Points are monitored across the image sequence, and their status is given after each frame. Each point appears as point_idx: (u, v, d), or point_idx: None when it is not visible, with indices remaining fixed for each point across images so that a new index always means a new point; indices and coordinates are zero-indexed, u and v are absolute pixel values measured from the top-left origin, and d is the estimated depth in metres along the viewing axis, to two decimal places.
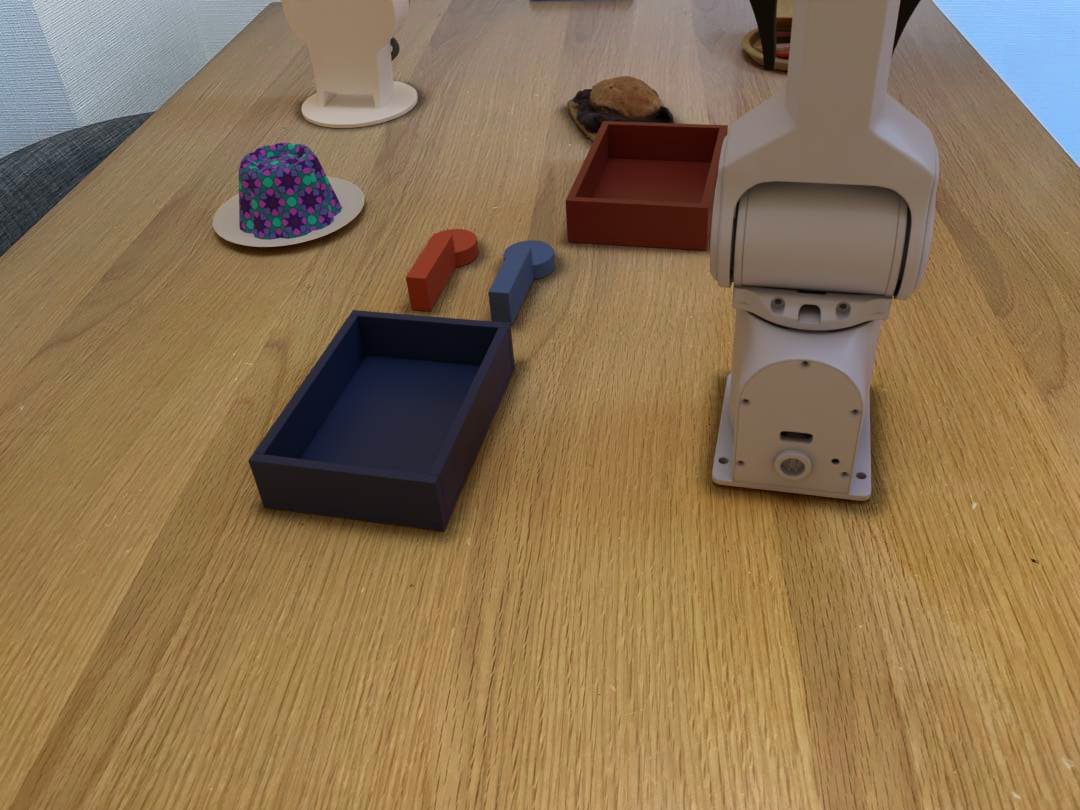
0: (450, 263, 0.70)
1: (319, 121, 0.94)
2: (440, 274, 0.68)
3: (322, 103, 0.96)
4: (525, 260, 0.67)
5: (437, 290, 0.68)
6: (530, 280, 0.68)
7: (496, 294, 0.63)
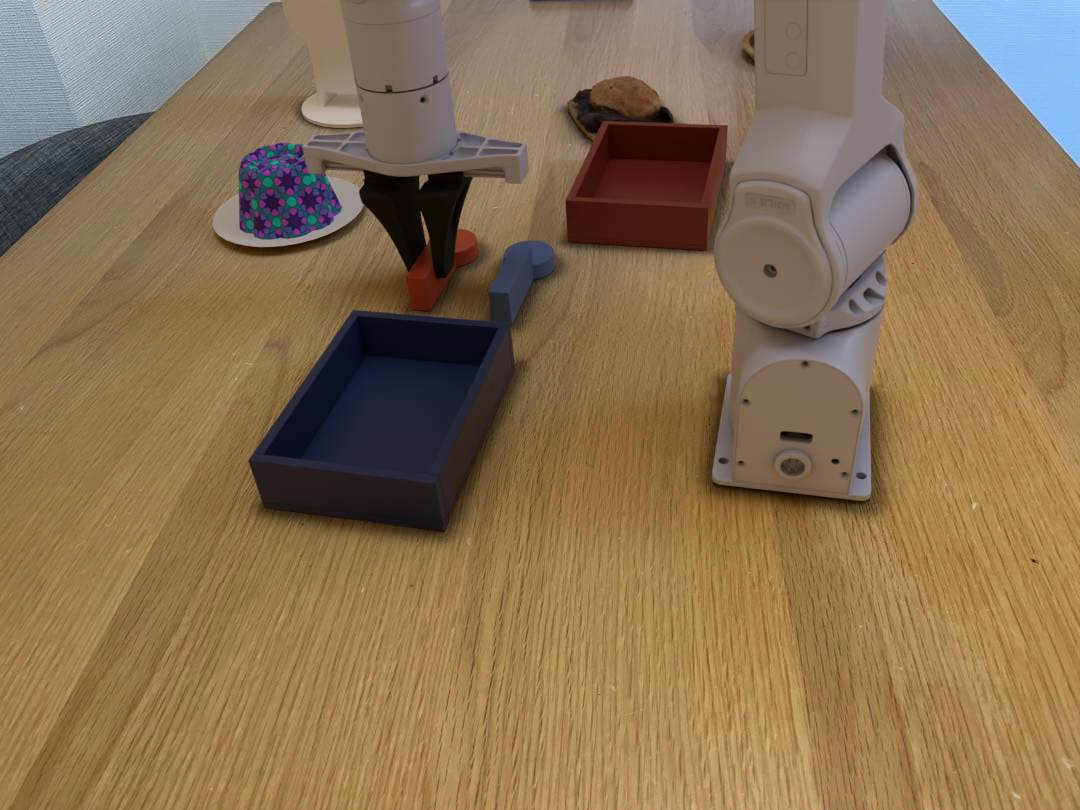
0: None
1: (319, 121, 0.94)
2: None
3: (322, 103, 0.96)
4: (525, 260, 0.67)
5: (437, 290, 0.68)
6: (530, 280, 0.68)
7: (496, 294, 0.63)
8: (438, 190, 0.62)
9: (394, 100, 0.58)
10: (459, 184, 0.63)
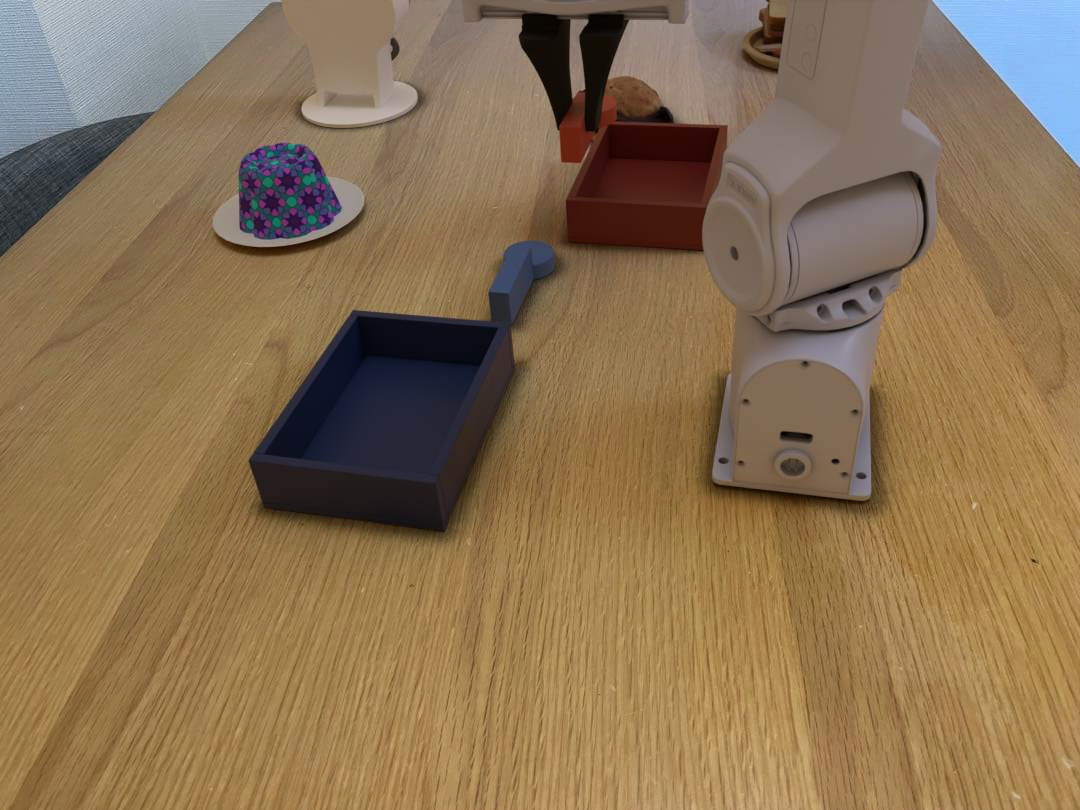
0: None
1: (319, 121, 0.94)
2: None
3: (322, 103, 0.96)
4: (525, 260, 0.67)
5: (585, 145, 0.68)
6: (530, 280, 0.68)
7: (496, 294, 0.63)
8: (601, 31, 0.62)
9: None
10: (620, 26, 0.63)
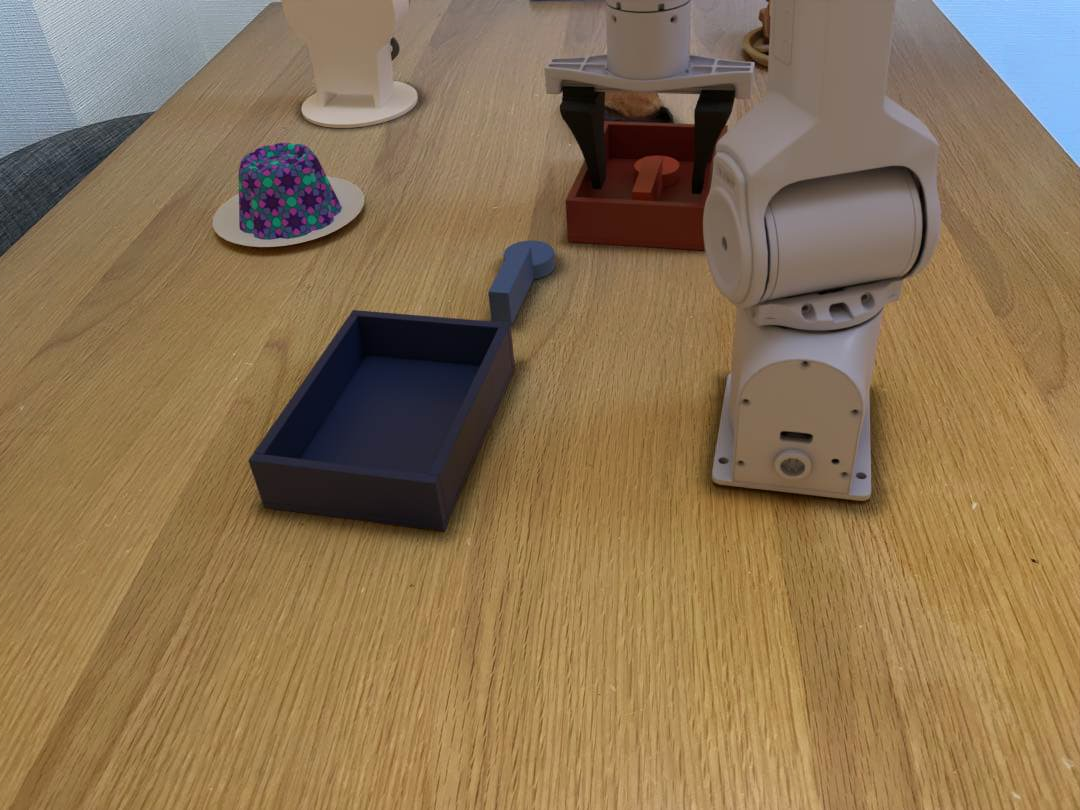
0: (660, 183, 0.77)
1: (319, 121, 0.94)
2: (656, 191, 0.75)
3: (322, 103, 0.96)
4: (525, 260, 0.67)
5: None
6: (530, 280, 0.68)
7: (496, 294, 0.63)
8: (714, 106, 0.68)
9: (649, 19, 0.64)
10: (731, 102, 0.68)
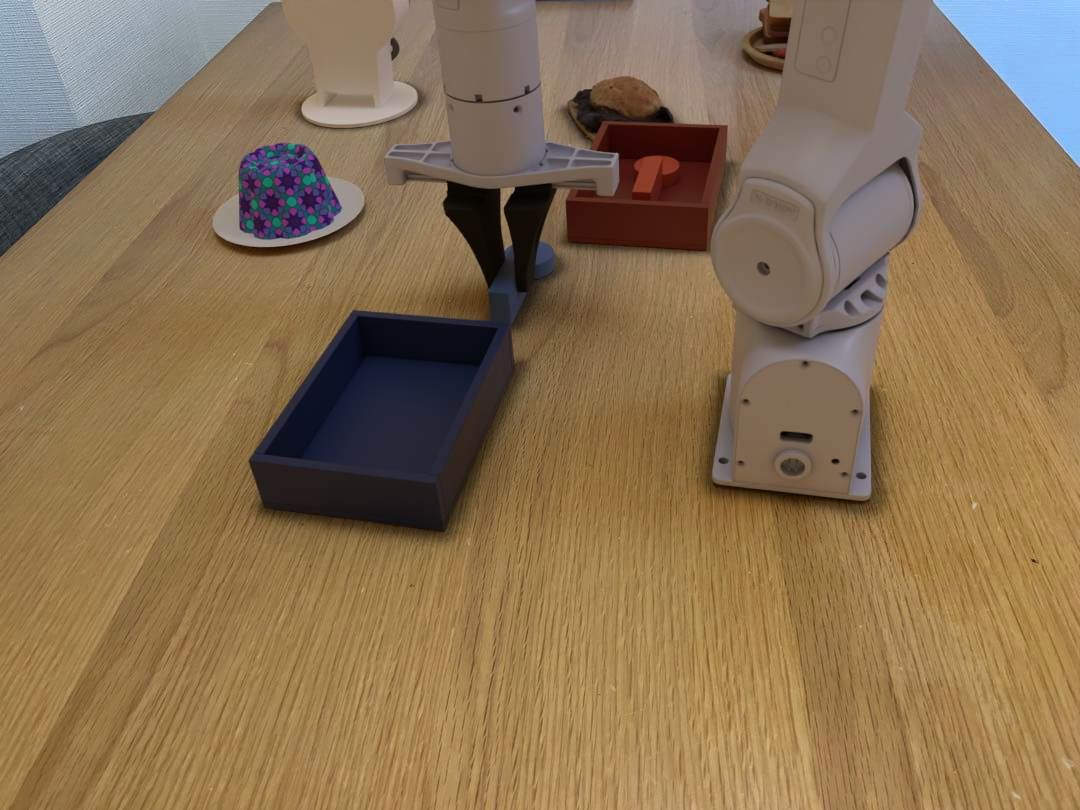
0: (660, 183, 0.77)
1: (319, 121, 0.94)
2: (656, 191, 0.75)
3: (322, 103, 0.96)
4: None
5: None
6: None
7: (496, 294, 0.63)
8: (527, 202, 0.60)
9: (488, 110, 0.56)
10: (548, 196, 0.60)
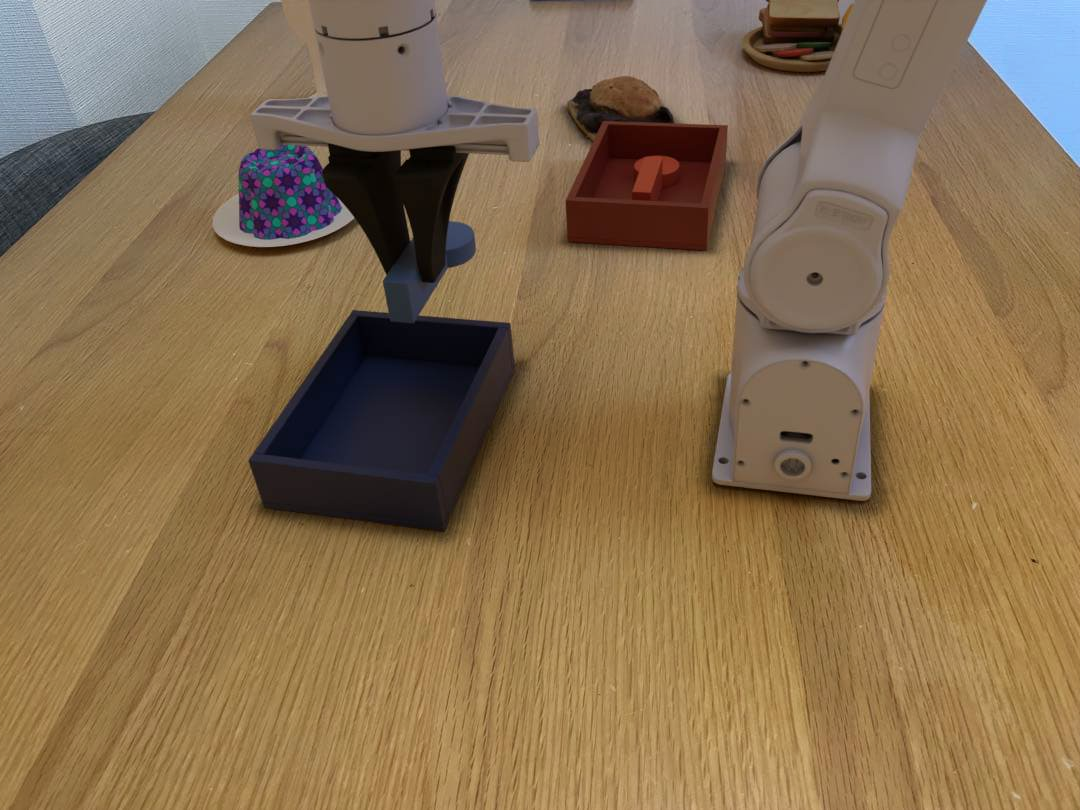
0: (660, 183, 0.77)
1: None
2: (656, 191, 0.75)
3: None
4: None
5: None
6: (443, 268, 0.57)
7: (392, 284, 0.52)
8: (423, 170, 0.48)
9: (364, 49, 0.44)
10: (450, 162, 0.49)
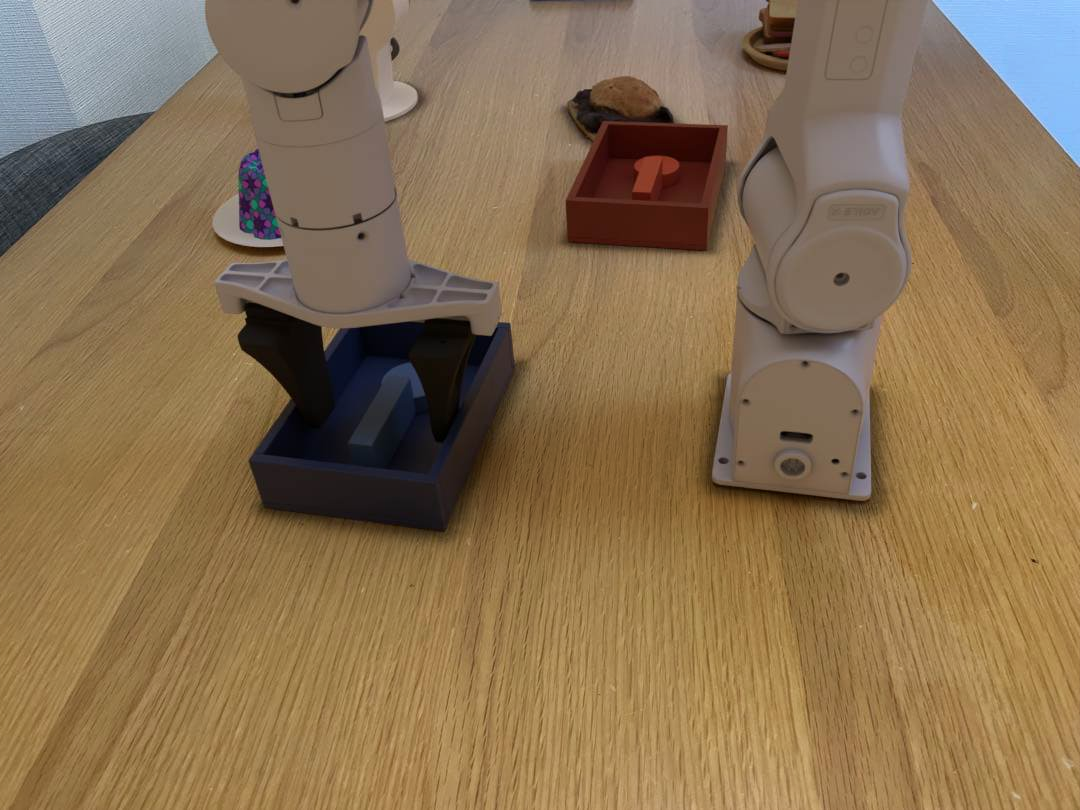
0: (660, 183, 0.77)
1: None
2: (656, 191, 0.75)
3: None
4: (400, 396, 0.55)
5: None
6: (410, 416, 0.57)
7: (357, 445, 0.52)
8: (439, 347, 0.48)
9: (323, 238, 0.44)
10: (465, 338, 0.48)
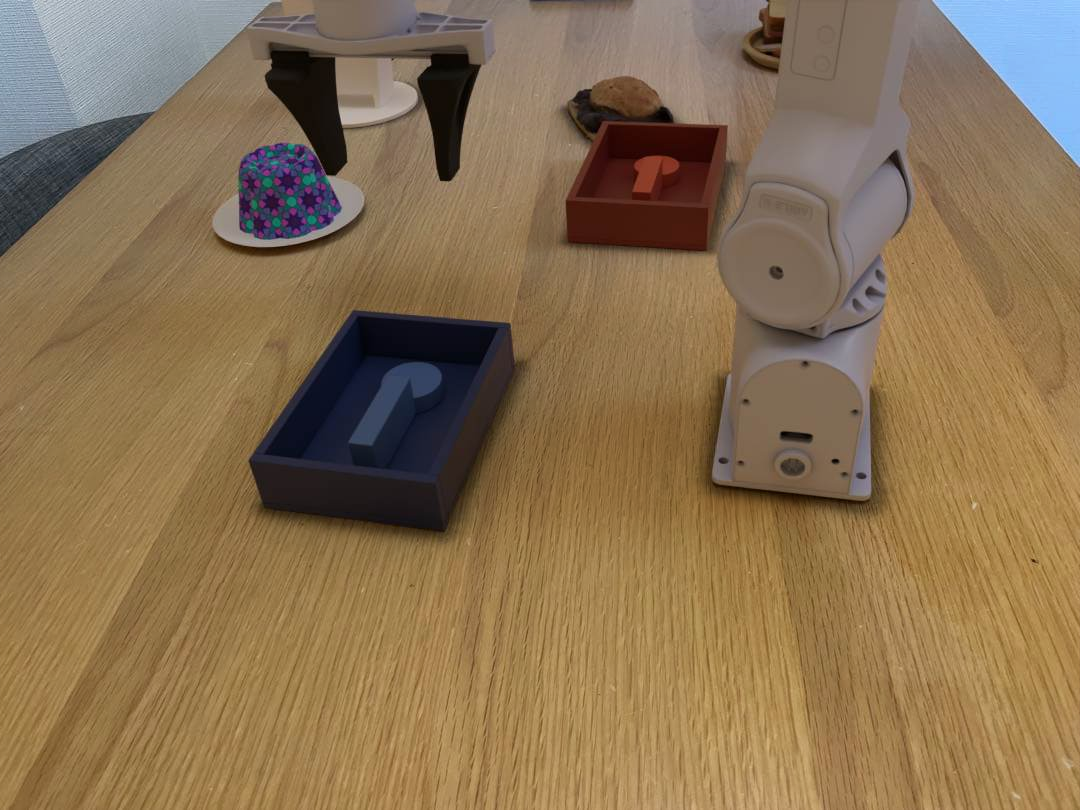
0: (660, 183, 0.77)
1: None
2: (656, 191, 0.75)
3: None
4: (400, 396, 0.55)
5: None
6: (410, 416, 0.57)
7: (357, 445, 0.52)
8: (443, 73, 0.56)
9: None
10: (466, 68, 0.56)
